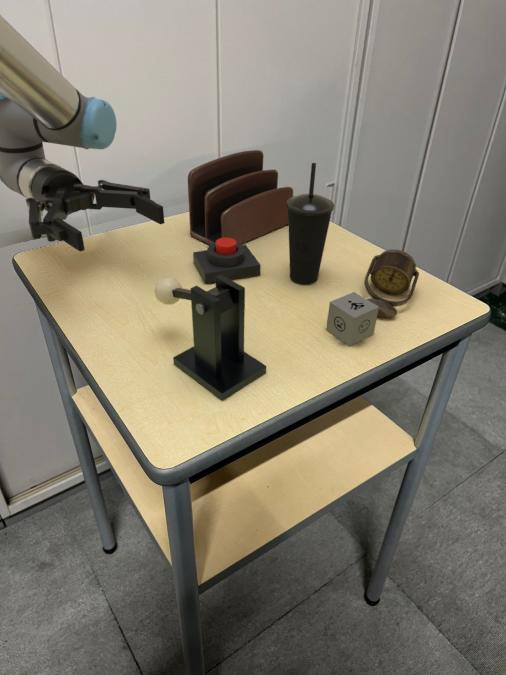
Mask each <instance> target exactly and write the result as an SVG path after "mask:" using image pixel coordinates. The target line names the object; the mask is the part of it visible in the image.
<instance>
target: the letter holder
mask: <svg viewBox="0 0 506 675" xmlns="http://www.w3.org/2000/svg"><path fill="white" fill-rule="evenodd" d="M278 182H279V172H278V170H277V169H265V170H264V152H263V151H262V150H261V149H260V150H259V149H255V150H244V151H239V152H235V153H230V154H227V155H225V156H222V157H219V158H216V159H212V160H209V161H208V162H206V163H203V164H200V165H199V166H197V167H194V168H193V169H191V170H190V171H189V172H188V175H187V196H188V214H189V215H188V217H189V234H190V237H192V238H195V239H197V241H198V240H199V241H201V242H202V243H204V244H207V245H208V246H209V245H211V244H213V243H215V242H216V240H218V239H220V238H232V239H234V240H236V242H237V243H239V244H242V245H244V244H245V243H247V242H249V241H252V240H254V239H256V238H259V237H261V236H264V235H266V234H268V233H270V232H273V231H275V230H277V229H280V228H282V227H285V226H287V225H288V208H287V206H286V202H287V200H288V199H289V198H291V197H294V189H293V187H291V186H283V187H278V184H279V183H278Z"/></svg>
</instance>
